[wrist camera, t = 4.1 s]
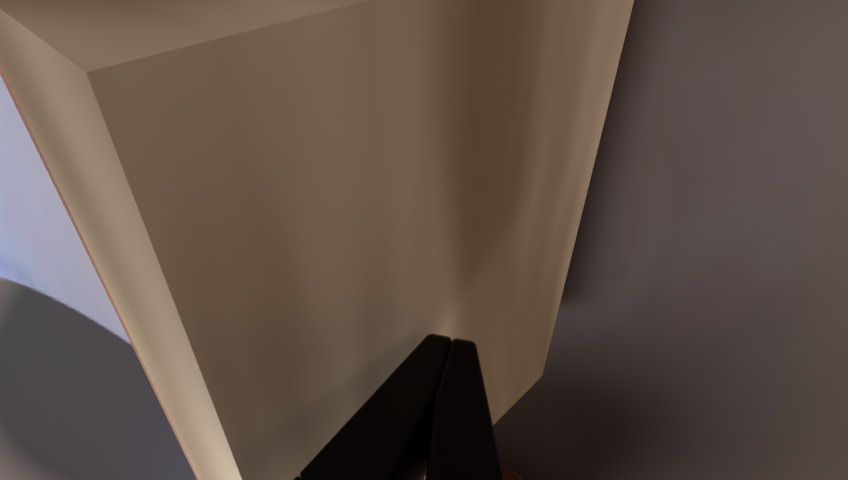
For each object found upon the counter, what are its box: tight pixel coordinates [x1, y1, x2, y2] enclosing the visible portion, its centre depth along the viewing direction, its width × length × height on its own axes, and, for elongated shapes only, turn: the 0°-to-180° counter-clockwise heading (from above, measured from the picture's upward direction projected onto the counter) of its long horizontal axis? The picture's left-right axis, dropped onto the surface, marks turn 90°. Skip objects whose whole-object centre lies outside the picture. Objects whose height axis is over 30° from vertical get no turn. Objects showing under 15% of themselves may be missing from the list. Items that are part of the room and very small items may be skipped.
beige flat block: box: [0, 0, 634, 480], centre depth 11 cm, size 4×12×9 cm, turn 0°
